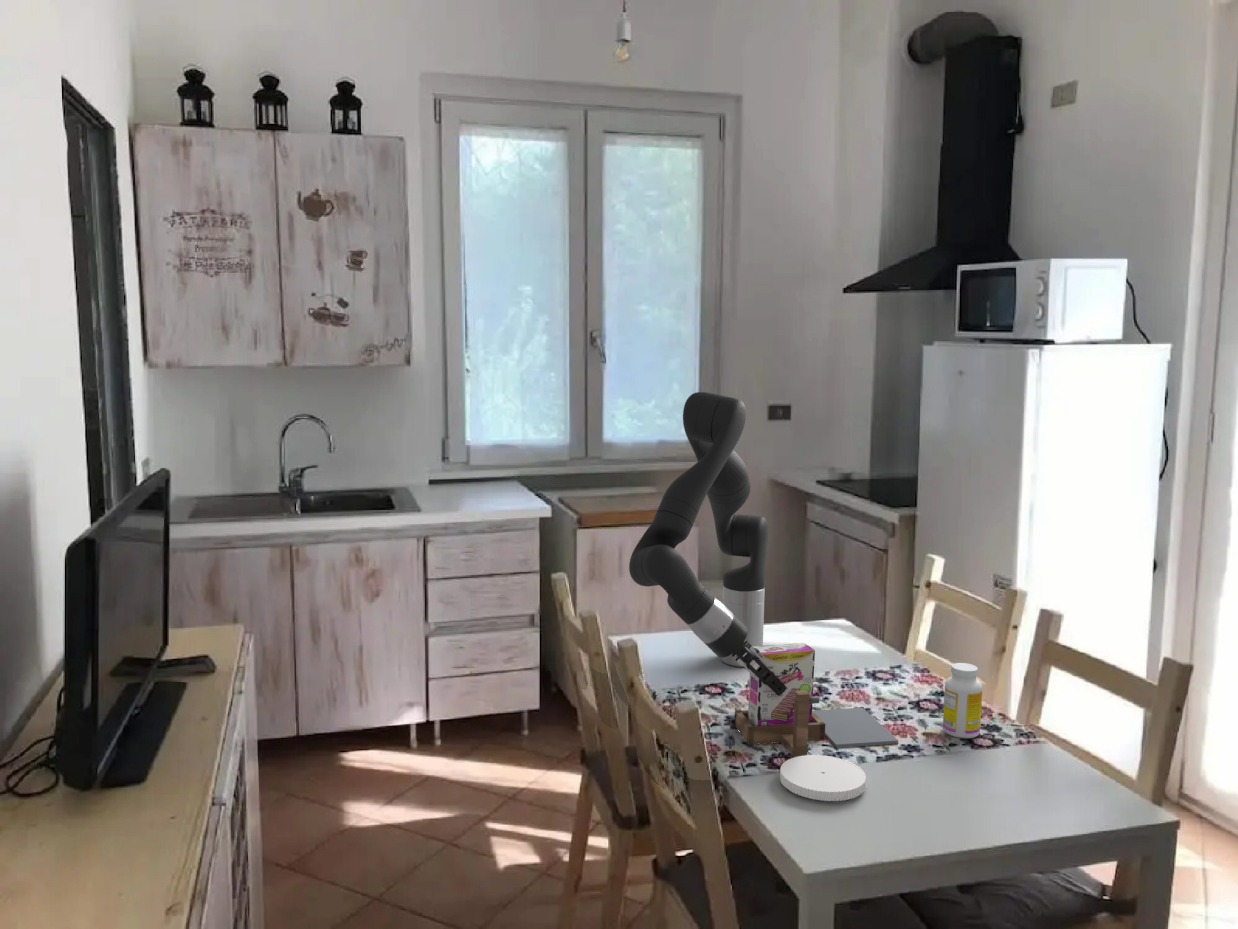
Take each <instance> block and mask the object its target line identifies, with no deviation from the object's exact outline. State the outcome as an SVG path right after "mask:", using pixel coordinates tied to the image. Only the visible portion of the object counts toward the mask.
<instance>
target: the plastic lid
mask: <svg viewBox="0 0 1238 929" xmlns="http://www.w3.org/2000/svg"><path fill="white" fill-rule="evenodd" d="M779 780H780V783H781V784H782V785H783V787H785V789H787V790H789V792H791V793H793V794H795V795H798V796H801V797H804V798H806V799H807V798H808V799H812V800H815V801H816V800H817V801H824V802H831V801H832V802H839V801H840V802H842V801H846V800H852V799H855V798H857V797H859V796H861V795H862V794H864V792H865V790H866V789H867V774H866V772H865V771H864V770H863V769H862V768H861V767H860V766H858V765H857V764H855V763H853V762H851V761H849V760H846V759H843V758H839V757H836V756H831V755H824V754H823V755H821V754H819V755H818V754H807V755H805V756H799V757H791V758H788V759H787V760H786V761H784V762H783V763H782V764H781V765H780V769H779Z"/></svg>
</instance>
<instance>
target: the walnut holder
mask: <svg viewBox="0 0 1238 929" xmlns="http://www.w3.org/2000/svg"><path fill="white" fill-rule="evenodd" d="M819 703H820V697H819V696H818V695H815V696H814V695H813V697H810V694H809V693H808V692H807V691H806V690H799V691H795V697H794V723H793V724H784V725H768V726H752V725H751V724H750V723H749V721H748V711H749V709H747V710H734V727H735V726H736V727H735V728H737V729H738V730H739V731H740V733H741V734H742V735H741V734H740V733H739V734H740V735H741V737H742V736H743V737H744V738H743V737H742V738H743V740H746V741H745V742H746V743H748V744H751V745H759V744H758V743H761V744H760V745H763V744H762V743H766V744H777V742H782V743H781V744H782V745H783V746H784V747H785V748H786V751H788V752H789V754H790V755H791V756H792V758H794V757H799V756H805V755H808V746H809V745H808V744H809V742H810V741H812V742H813V741H825V739H826V736H825V723H824V722H823V721H822V720H821V719H820V718H819V717H818V716H817V715H816V714H815V713H814V712H813V711H814V710H812V723H809V704H812V705H813V704H819ZM737 729H736V730H737ZM738 730H737V731H738ZM739 731H738V732H739ZM772 742H773V743H772ZM774 742H775V743H774ZM748 744H747V745H748Z"/></svg>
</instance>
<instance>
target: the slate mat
mask: <svg viewBox="0 0 1238 929" xmlns="http://www.w3.org/2000/svg"><path fill="white" fill-rule="evenodd" d="M812 711H813V712H814V713H815V714H816V715H817V716H818V717H819V718H820V719H821V720H822V721H823V722H824V723H825V739H828V741H829V742H830V743H831V744H832V745H833V747H835V748H836V749H837V748H853V747H863V746H864V747H865V746H866V747H867V746H869V747H870V746H881V745H883V746H885V745H895V744H899V740H898V739H897V738H896V736H894V735H893V734H892V733H891V732H890V731H889V730H888V729H887V728H885V726H883V725H882V724H881V722H879V721H878V720H877V719H876V718H874V717H873V716H872V715H871V714H870V713H869V712H868V711H867V710H866V709H865V708H864V707H853V708H852V707H851V708H836V709H835V708H834V709H817V710H815V709H814V710H812Z"/></svg>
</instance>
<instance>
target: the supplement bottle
mask: <svg viewBox="0 0 1238 929" xmlns="http://www.w3.org/2000/svg"><path fill="white" fill-rule="evenodd" d="M950 672H951V676H949V677H948V678H947V679H946V680H945V682H944V697H943V715H942V716H943V717H942V729H943V731H944V732H945V734H947V735H949V736H951V737H954V738H960V739H973V738H977V737H978V736H979V735H980V732H981V721H982V720H981V718H982V701H983V700H982V699H983V685H982V683H981V682H980V681H979V679H977V677H978V675H979V668H978V666H976V665H974V664H971V663H967V662H966V663H965V662H957V663H956V662H955V663H952V665H951V669H950Z"/></svg>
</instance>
